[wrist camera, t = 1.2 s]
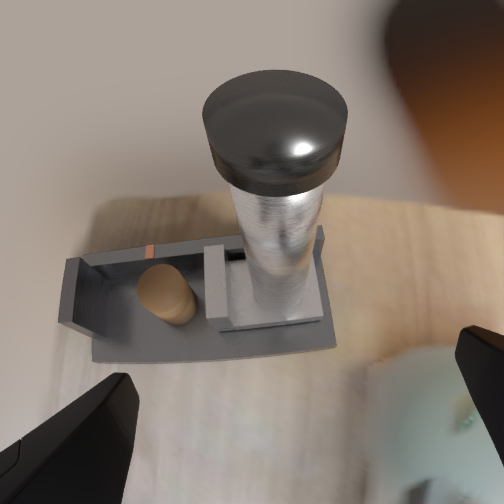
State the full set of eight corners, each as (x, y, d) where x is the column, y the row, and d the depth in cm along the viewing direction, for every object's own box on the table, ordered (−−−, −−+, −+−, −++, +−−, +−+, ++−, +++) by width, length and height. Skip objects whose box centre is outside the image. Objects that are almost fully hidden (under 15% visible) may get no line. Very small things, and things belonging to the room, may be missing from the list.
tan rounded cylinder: (181, 333, 20) (163, 321, 17) (149, 310, 21) (127, 294, 18) (206, 297, 21) (193, 279, 18) (173, 276, 22) (156, 255, 19)
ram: (310, 258, 21) (341, 63, 8) (321, 319, 19) (394, 157, 6) (214, 269, 22) (135, 88, 9) (217, 331, 20) (105, 191, 7)
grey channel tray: (316, 247, 23) (325, 207, 18) (334, 347, 20) (351, 331, 15) (103, 271, 23) (69, 242, 19) (97, 363, 20) (56, 350, 15)
